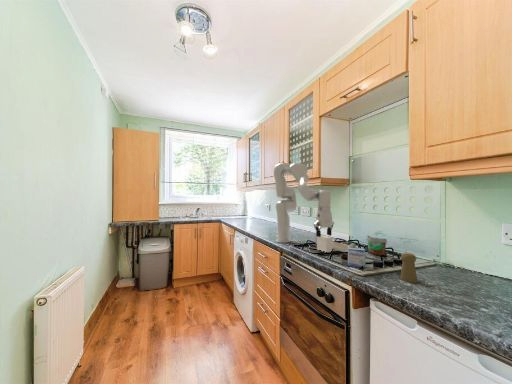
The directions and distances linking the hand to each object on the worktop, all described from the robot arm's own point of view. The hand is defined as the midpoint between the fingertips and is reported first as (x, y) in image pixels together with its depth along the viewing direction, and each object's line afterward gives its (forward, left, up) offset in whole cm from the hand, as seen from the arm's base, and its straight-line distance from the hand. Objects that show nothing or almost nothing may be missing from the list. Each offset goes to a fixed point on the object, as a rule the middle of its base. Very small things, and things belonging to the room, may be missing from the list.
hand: (323, 235), depth 143 cm
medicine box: (+31, -10, -10) cm, 34 cm away
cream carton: (+1, 0, -9) cm, 9 cm away
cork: (+54, -8, -10) cm, 55 cm away
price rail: (+1, +9, -9) cm, 13 cm away
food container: (+22, +19, -10) cm, 30 cm away
